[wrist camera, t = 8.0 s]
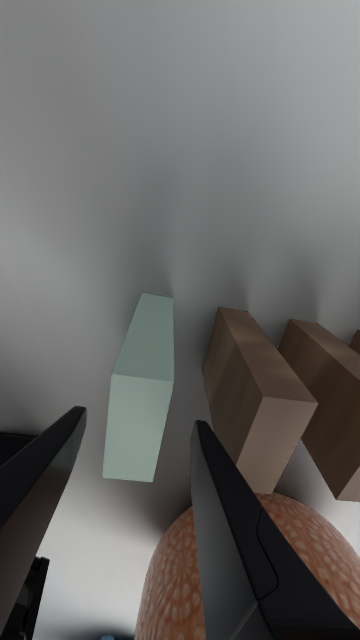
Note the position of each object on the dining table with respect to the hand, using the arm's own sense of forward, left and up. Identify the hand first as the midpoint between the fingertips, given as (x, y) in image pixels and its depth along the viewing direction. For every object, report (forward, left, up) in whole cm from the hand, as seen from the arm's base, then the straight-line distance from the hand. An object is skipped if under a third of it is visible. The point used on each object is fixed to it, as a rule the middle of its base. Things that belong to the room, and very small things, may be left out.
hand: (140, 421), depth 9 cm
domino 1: (0, 0, -8) cm, 8 cm away
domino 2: (0, -5, -8) cm, 9 cm away
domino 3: (0, -10, -8) cm, 13 cm away
